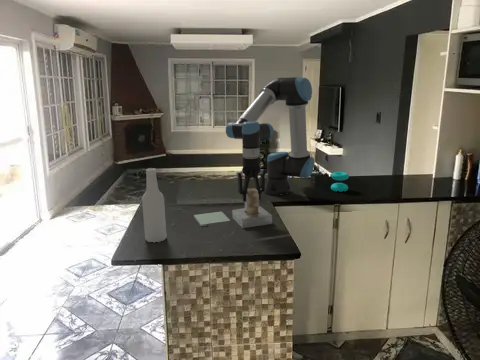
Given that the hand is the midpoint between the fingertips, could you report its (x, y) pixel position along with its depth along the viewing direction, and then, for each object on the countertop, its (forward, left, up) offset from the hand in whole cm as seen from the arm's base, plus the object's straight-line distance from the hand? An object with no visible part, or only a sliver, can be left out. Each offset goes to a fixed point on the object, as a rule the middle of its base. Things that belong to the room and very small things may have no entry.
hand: (251, 207), depth 184 cm
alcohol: (+44, +3, -8) cm, 45 cm away
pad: (+16, -11, -7) cm, 21 cm away
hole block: (0, 0, -7) cm, 7 cm away
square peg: (0, 0, -6) cm, 6 cm away
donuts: (-67, -32, -8) cm, 75 cm away
